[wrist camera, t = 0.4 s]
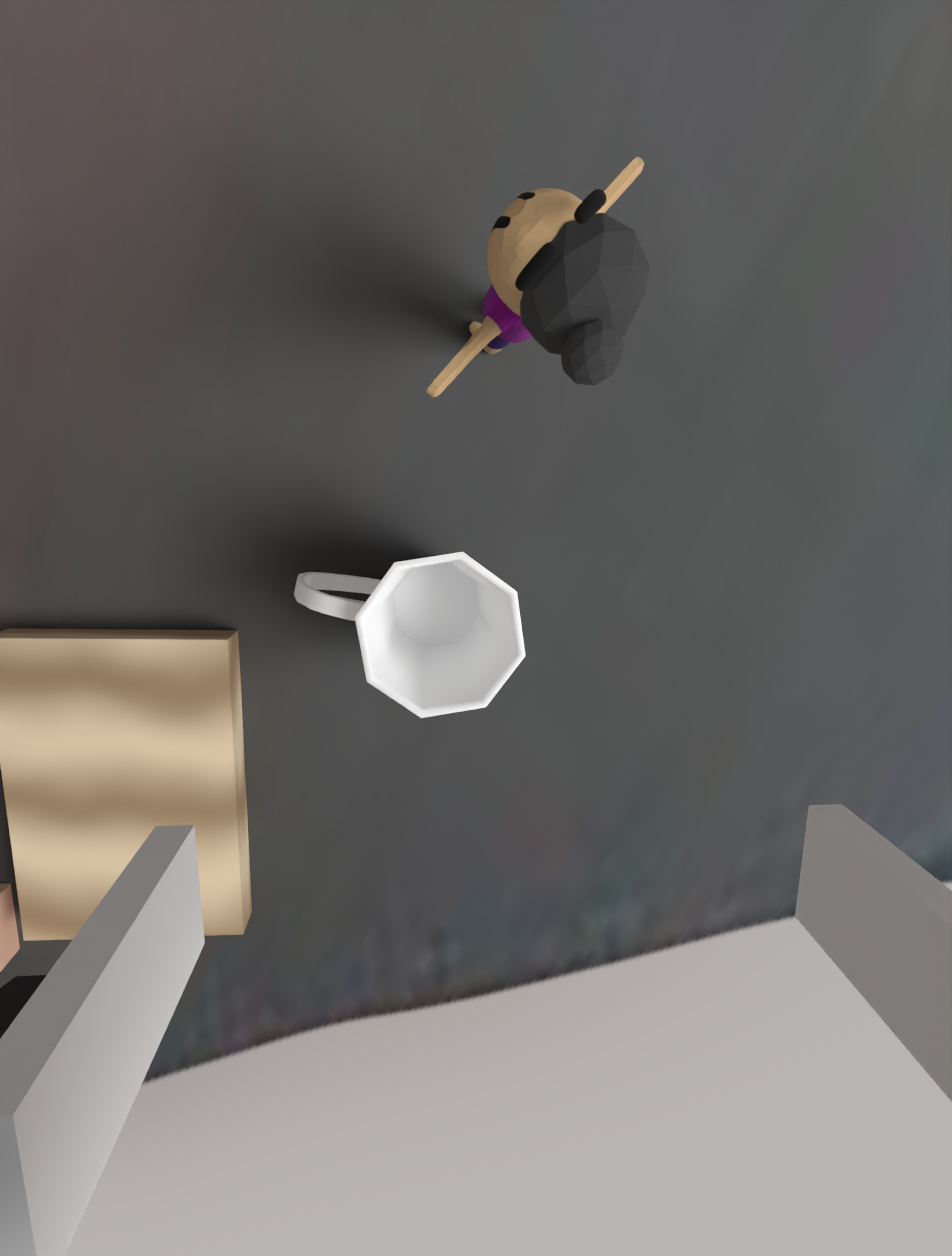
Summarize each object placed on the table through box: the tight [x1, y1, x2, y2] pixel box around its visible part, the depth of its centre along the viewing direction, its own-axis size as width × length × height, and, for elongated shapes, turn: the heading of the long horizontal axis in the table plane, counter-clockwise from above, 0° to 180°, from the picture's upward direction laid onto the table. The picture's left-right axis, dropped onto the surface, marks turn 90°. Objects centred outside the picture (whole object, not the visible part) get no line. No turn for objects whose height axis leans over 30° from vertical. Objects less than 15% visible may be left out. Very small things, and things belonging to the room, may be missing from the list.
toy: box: [426, 157, 649, 397], centre depth 26 cm, size 10×6×15 cm, turn 136°
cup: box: [294, 552, 525, 718], centre depth 32 cm, size 7×10×8 cm
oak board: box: [0, 628, 252, 941], centre depth 36 cm, size 16×11×2 cm
